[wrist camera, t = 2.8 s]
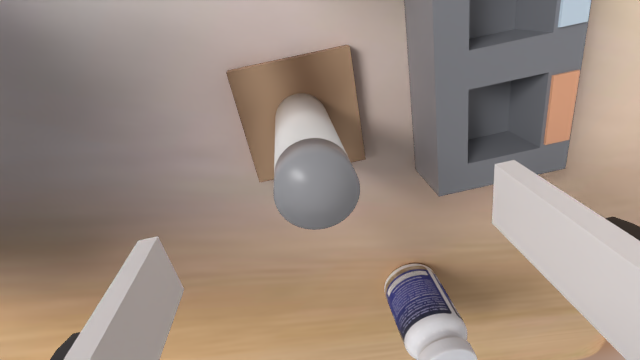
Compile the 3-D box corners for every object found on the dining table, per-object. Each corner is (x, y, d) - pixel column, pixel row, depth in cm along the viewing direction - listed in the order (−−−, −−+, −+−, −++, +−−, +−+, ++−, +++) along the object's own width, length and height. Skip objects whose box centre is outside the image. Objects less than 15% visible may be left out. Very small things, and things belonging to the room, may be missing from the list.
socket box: (415, 169, 31) (439, 197, 26) (399, -74, 23) (430, -95, 18) (526, 145, 31) (569, 168, 26) (549, -106, 23) (619, -135, 18)
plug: (282, 148, 27) (285, 237, 17) (269, 99, 26) (263, 164, 15) (331, 137, 28) (364, 219, 17) (322, 88, 26) (353, 144, 15)
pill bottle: (372, 293, 37) (402, 383, 28) (401, 254, 35) (443, 337, 26) (415, 307, 39) (456, 396, 30) (445, 270, 37) (498, 354, 28)
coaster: (260, 177, 29) (259, 182, 29) (228, 70, 25) (226, 72, 24) (362, 154, 30) (365, 159, 29) (347, 44, 26) (349, 46, 25)
